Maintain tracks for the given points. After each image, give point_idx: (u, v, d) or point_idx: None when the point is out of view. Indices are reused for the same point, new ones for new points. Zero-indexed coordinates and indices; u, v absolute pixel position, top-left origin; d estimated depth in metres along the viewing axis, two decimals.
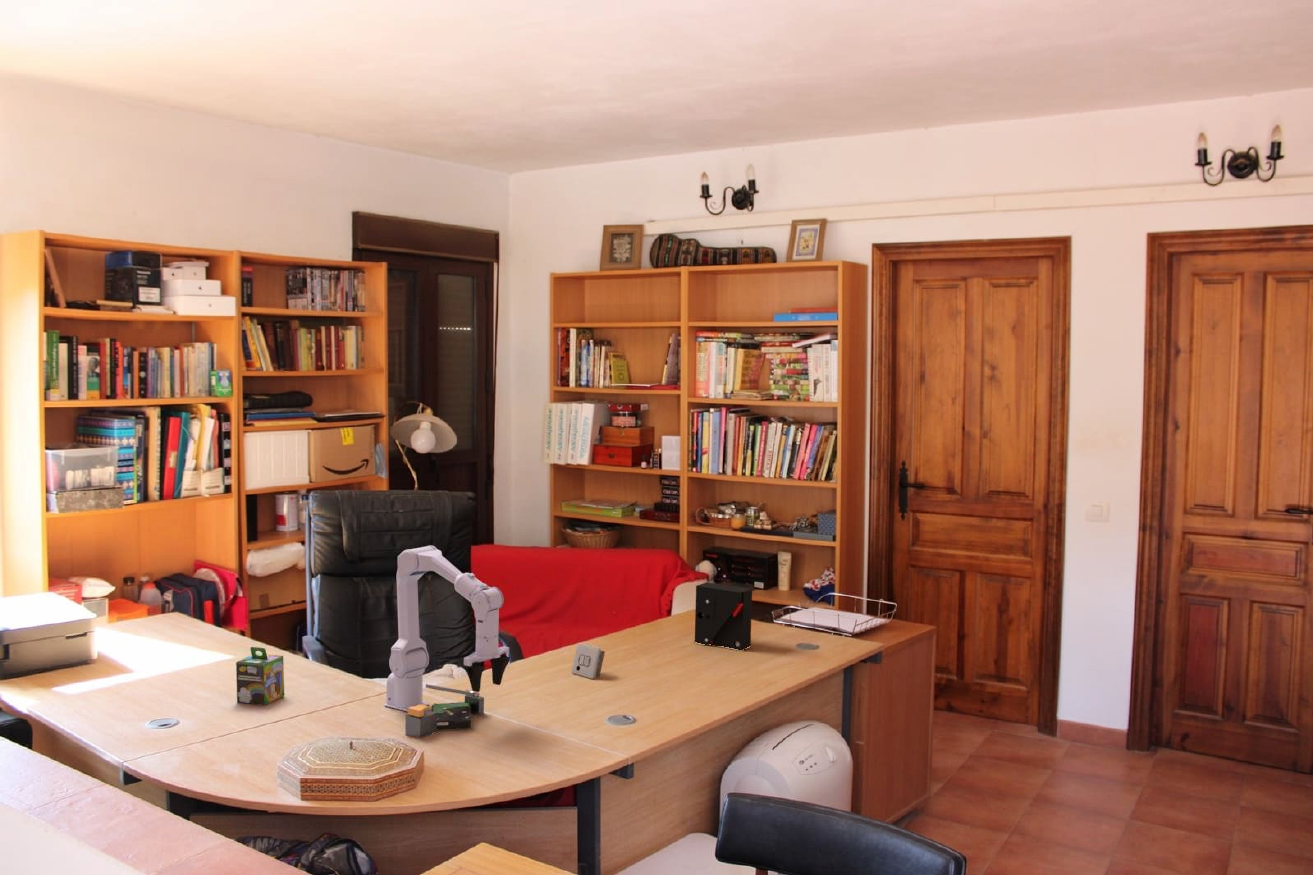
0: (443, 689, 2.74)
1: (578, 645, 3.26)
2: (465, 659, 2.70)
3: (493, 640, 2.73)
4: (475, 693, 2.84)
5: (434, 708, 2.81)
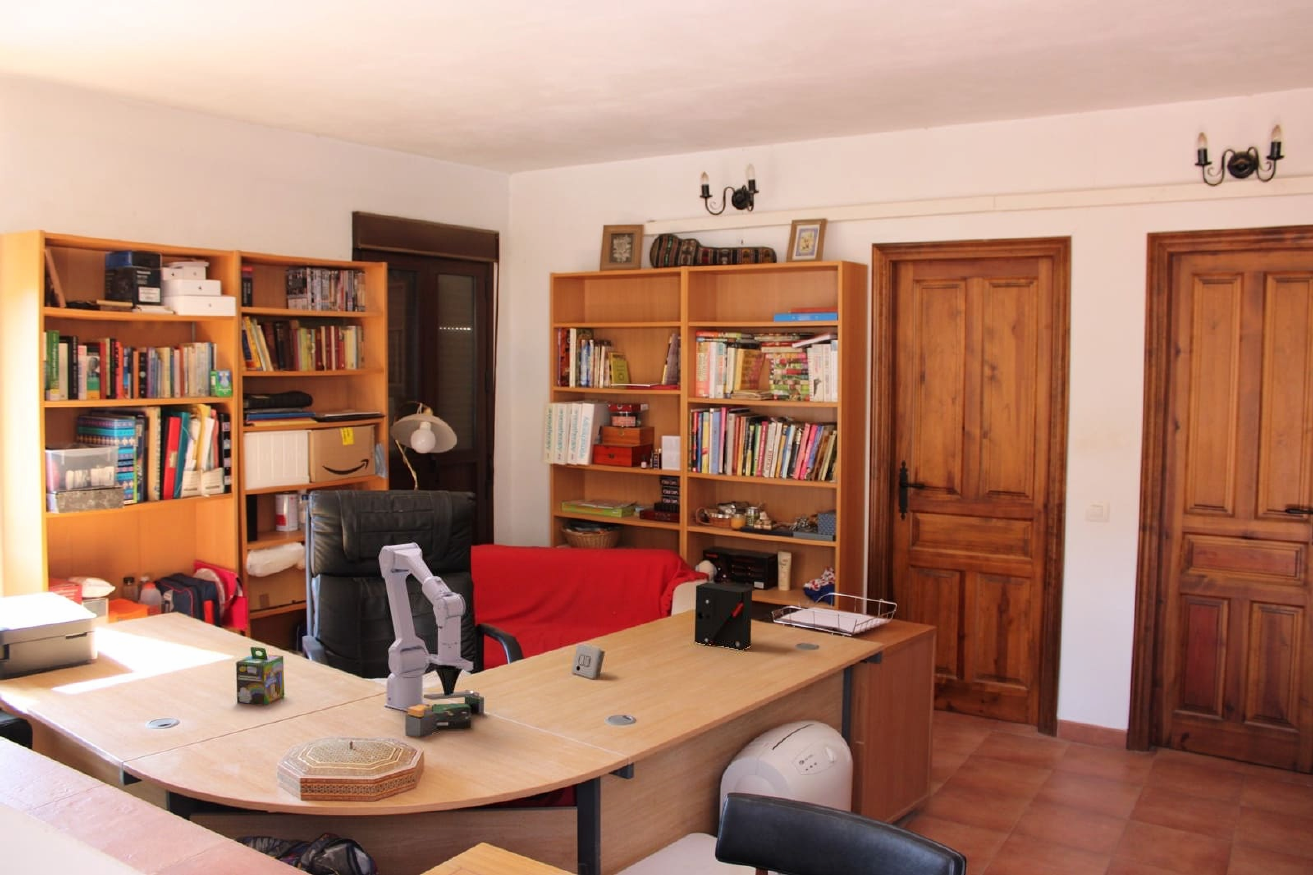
0: (441, 697, 2.73)
1: (578, 645, 3.26)
2: None
3: (440, 646, 2.75)
4: (475, 693, 2.84)
5: (434, 709, 2.81)
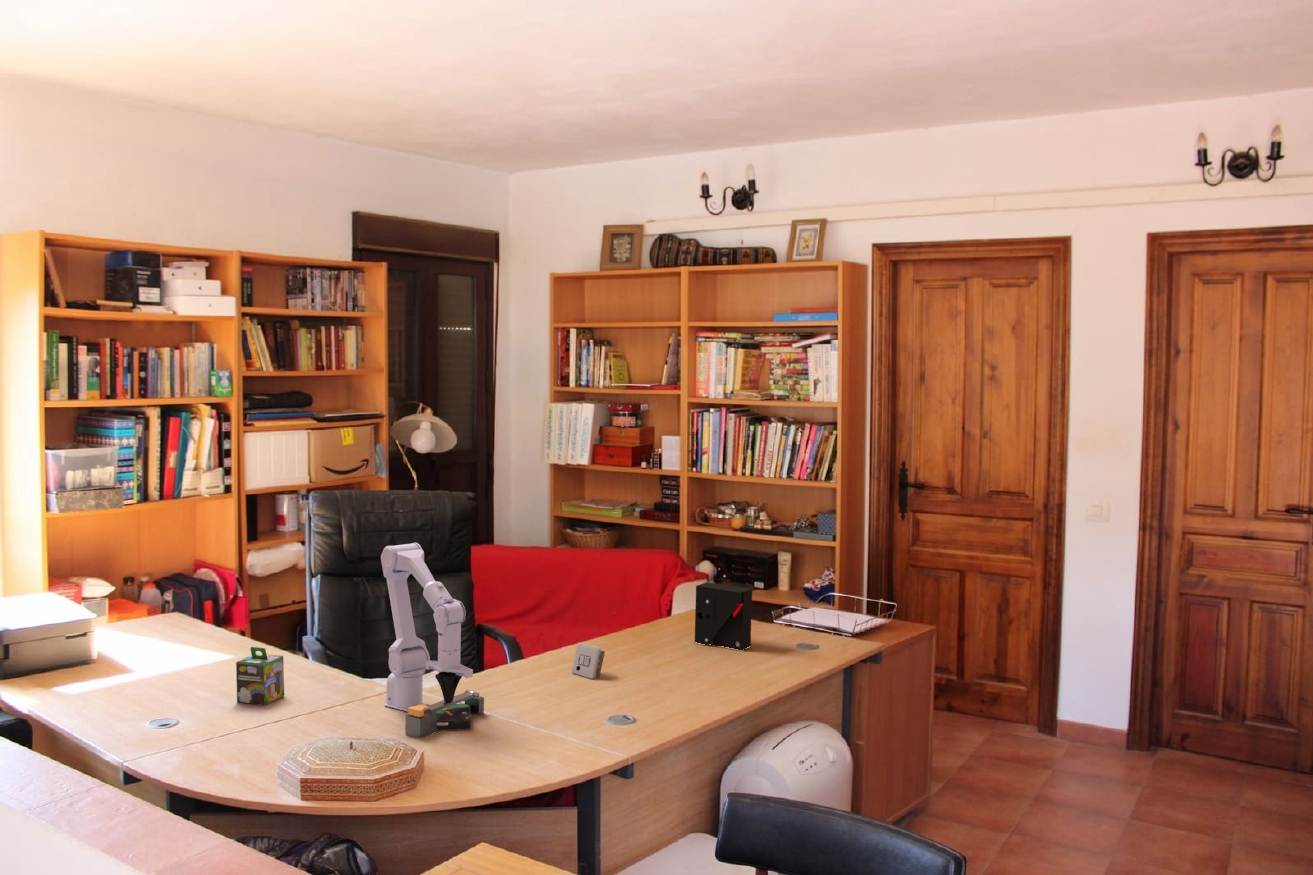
0: (441, 708, 2.73)
1: (578, 645, 3.26)
2: None
3: (440, 653, 2.75)
4: (475, 694, 2.84)
5: None
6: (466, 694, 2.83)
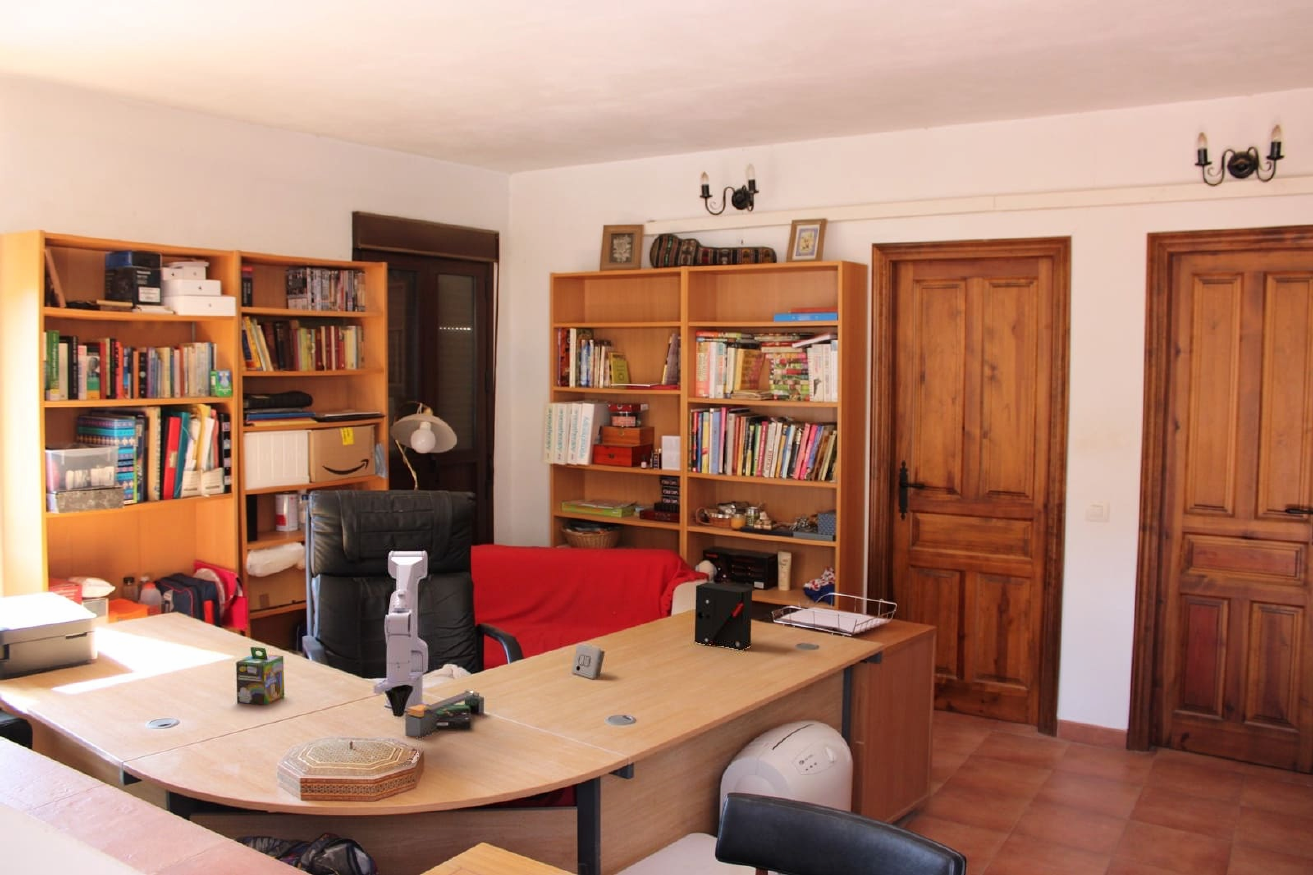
0: (441, 708, 2.73)
1: (578, 645, 3.26)
2: (375, 686, 2.56)
3: (405, 666, 2.60)
4: (475, 694, 2.84)
5: None
6: (466, 694, 2.83)
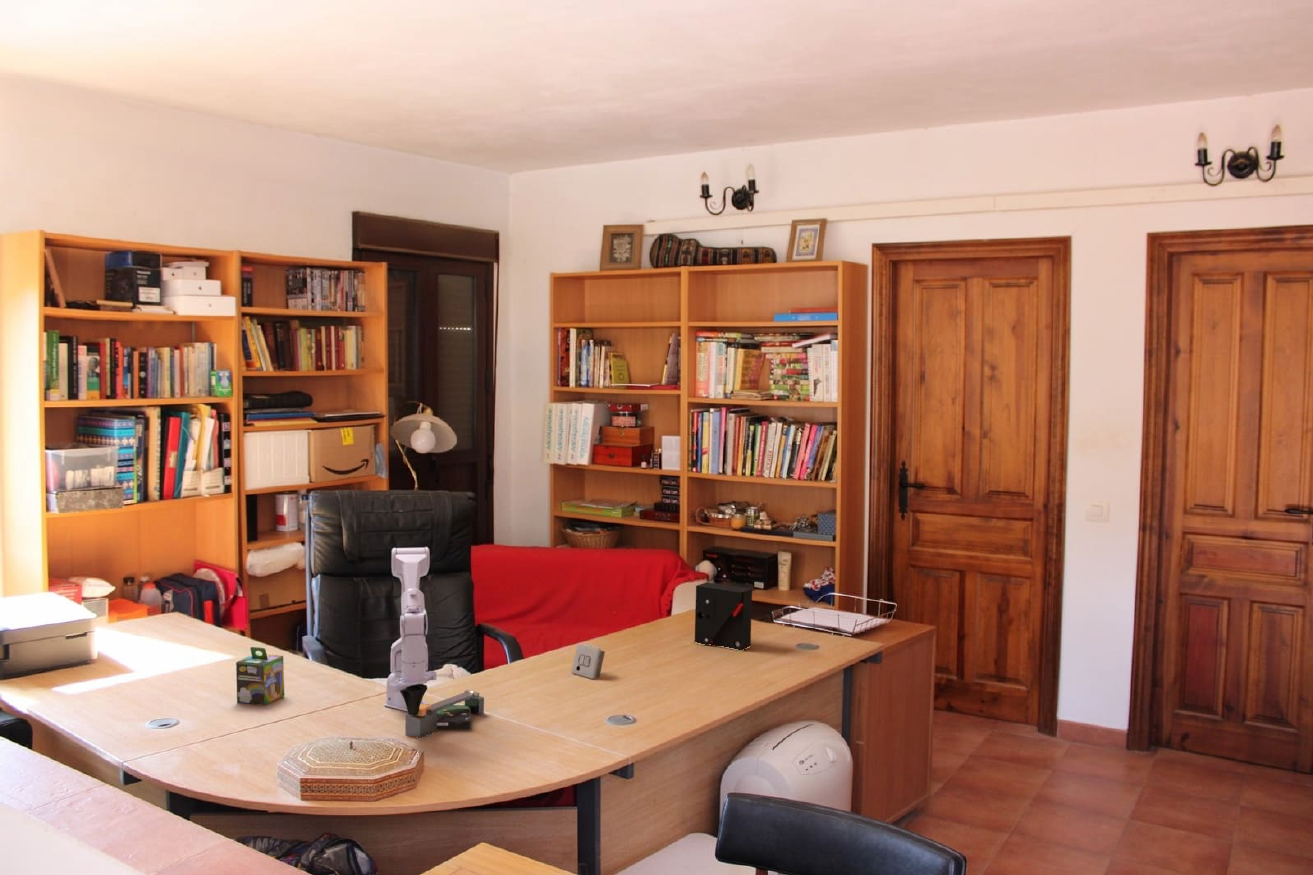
0: (441, 708, 2.73)
1: (578, 645, 3.26)
2: (390, 686, 2.60)
3: (420, 665, 2.64)
4: (475, 694, 2.84)
5: None
6: (466, 694, 2.83)
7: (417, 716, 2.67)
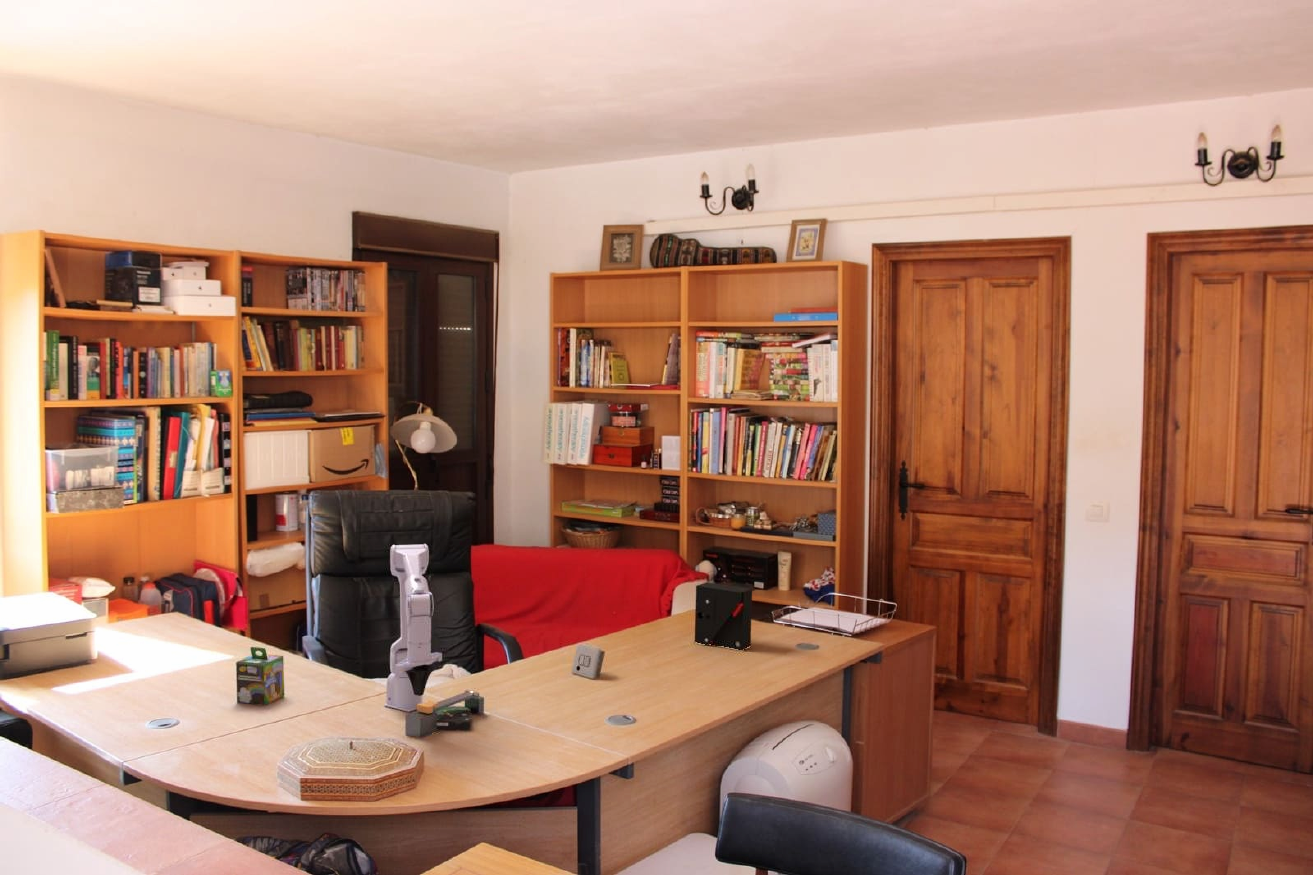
0: (441, 708, 2.73)
1: (578, 645, 3.26)
2: (396, 666, 2.63)
3: (425, 646, 2.67)
4: (475, 694, 2.84)
5: None
6: (466, 694, 2.83)
7: (417, 716, 2.67)
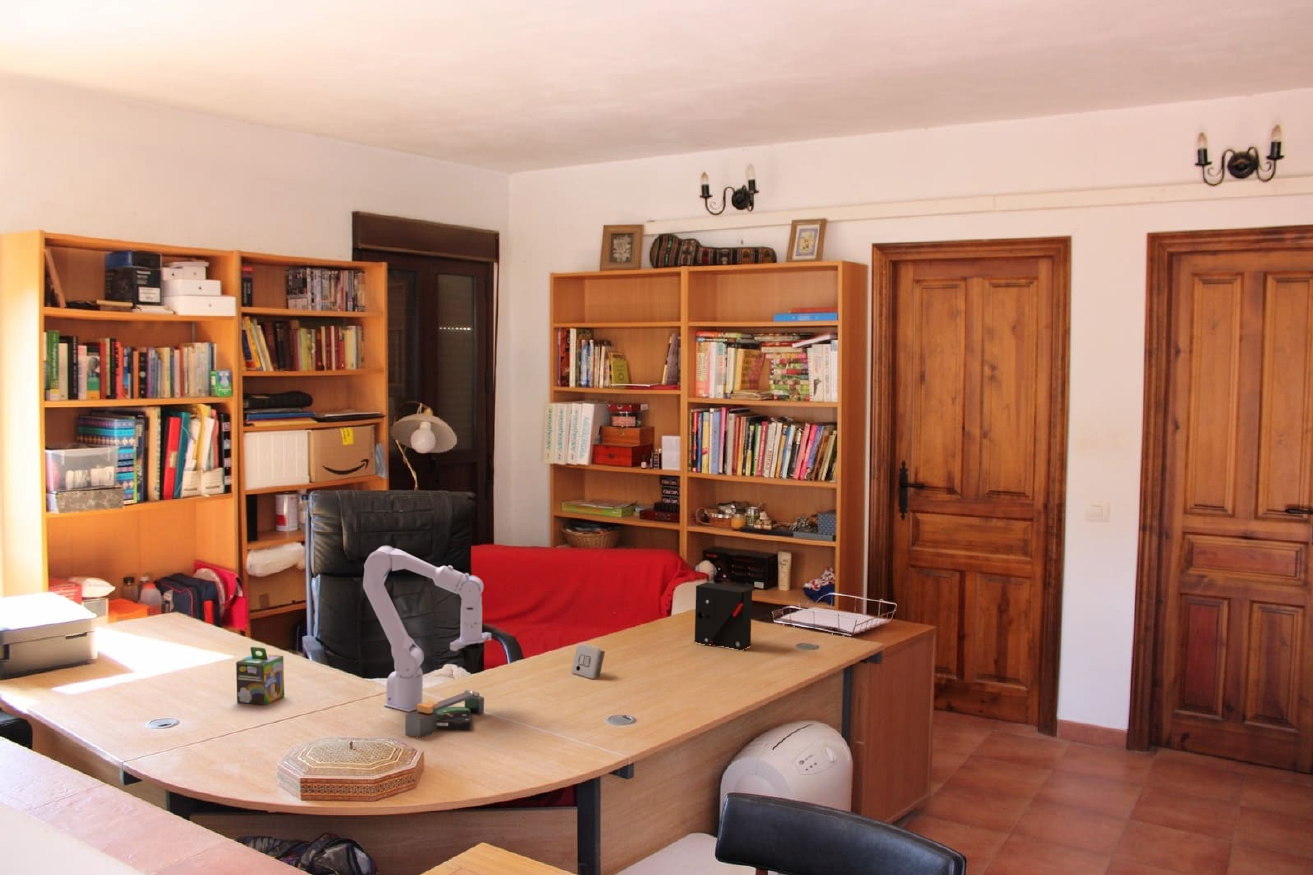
0: (441, 708, 2.73)
1: (578, 645, 3.26)
2: (451, 644, 2.84)
3: (477, 626, 2.88)
4: (475, 694, 2.84)
5: None
6: (466, 694, 2.83)
7: (417, 716, 2.67)
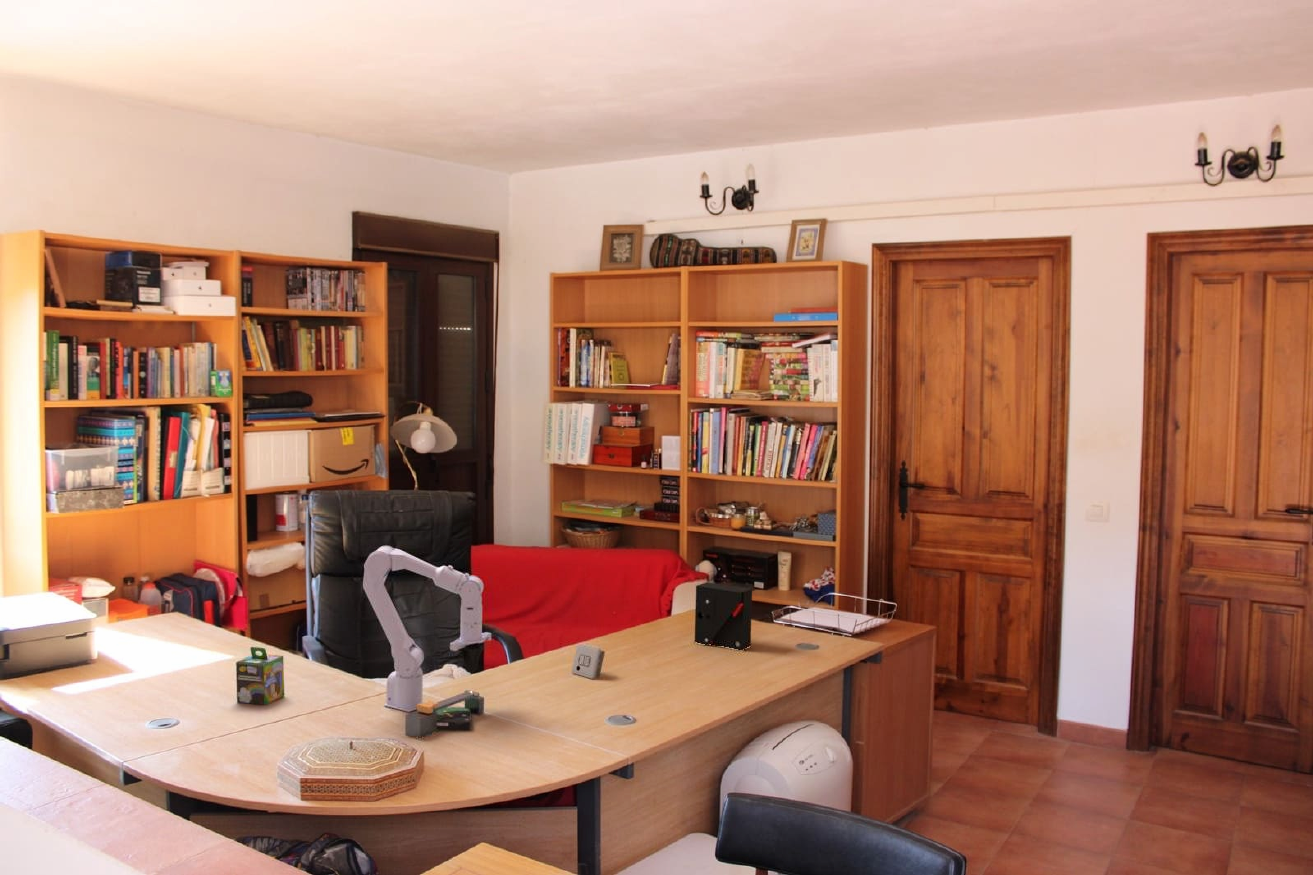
0: (441, 708, 2.73)
1: (578, 645, 3.26)
2: (451, 644, 2.84)
3: (477, 626, 2.88)
4: (475, 694, 2.84)
5: None
6: (466, 694, 2.83)
7: (417, 716, 2.67)
